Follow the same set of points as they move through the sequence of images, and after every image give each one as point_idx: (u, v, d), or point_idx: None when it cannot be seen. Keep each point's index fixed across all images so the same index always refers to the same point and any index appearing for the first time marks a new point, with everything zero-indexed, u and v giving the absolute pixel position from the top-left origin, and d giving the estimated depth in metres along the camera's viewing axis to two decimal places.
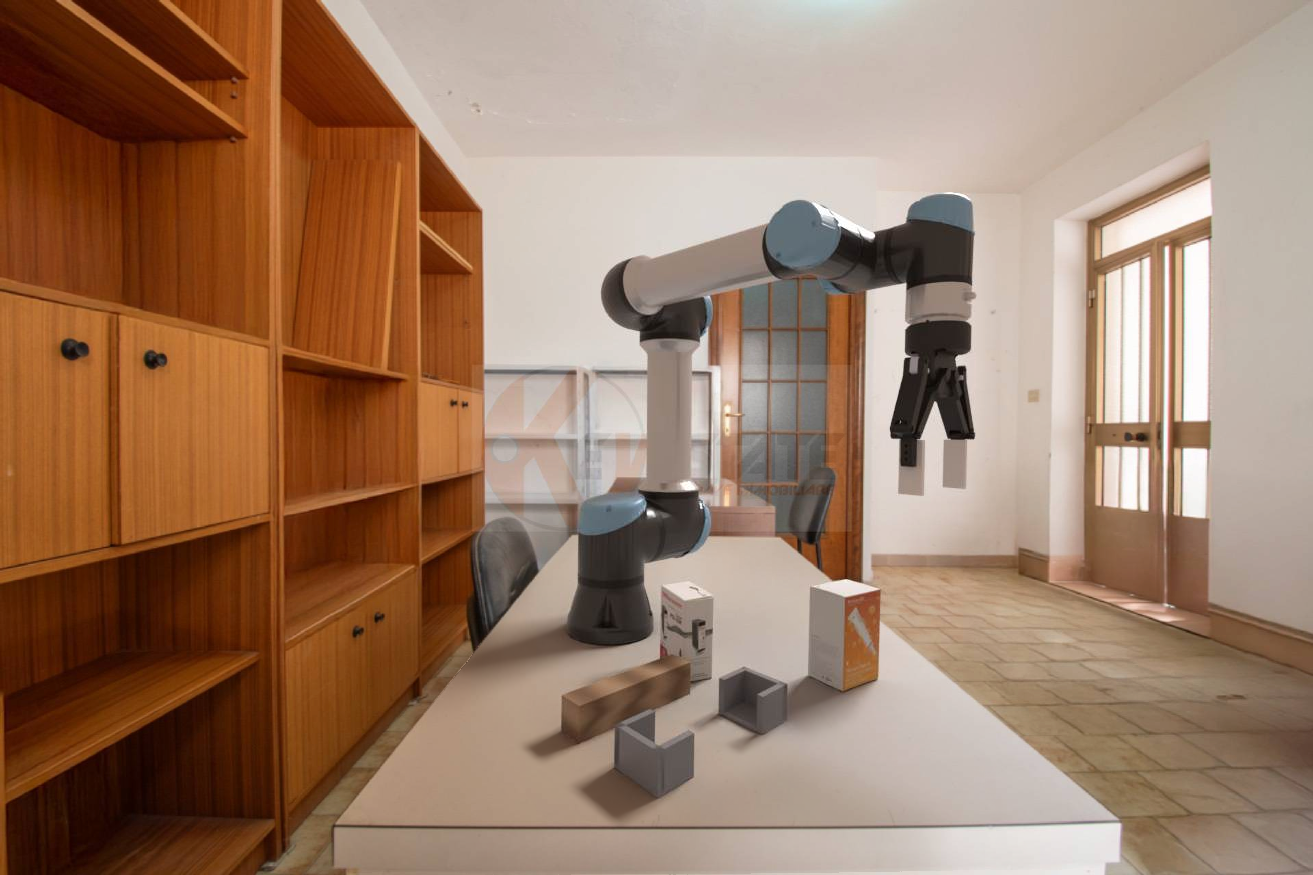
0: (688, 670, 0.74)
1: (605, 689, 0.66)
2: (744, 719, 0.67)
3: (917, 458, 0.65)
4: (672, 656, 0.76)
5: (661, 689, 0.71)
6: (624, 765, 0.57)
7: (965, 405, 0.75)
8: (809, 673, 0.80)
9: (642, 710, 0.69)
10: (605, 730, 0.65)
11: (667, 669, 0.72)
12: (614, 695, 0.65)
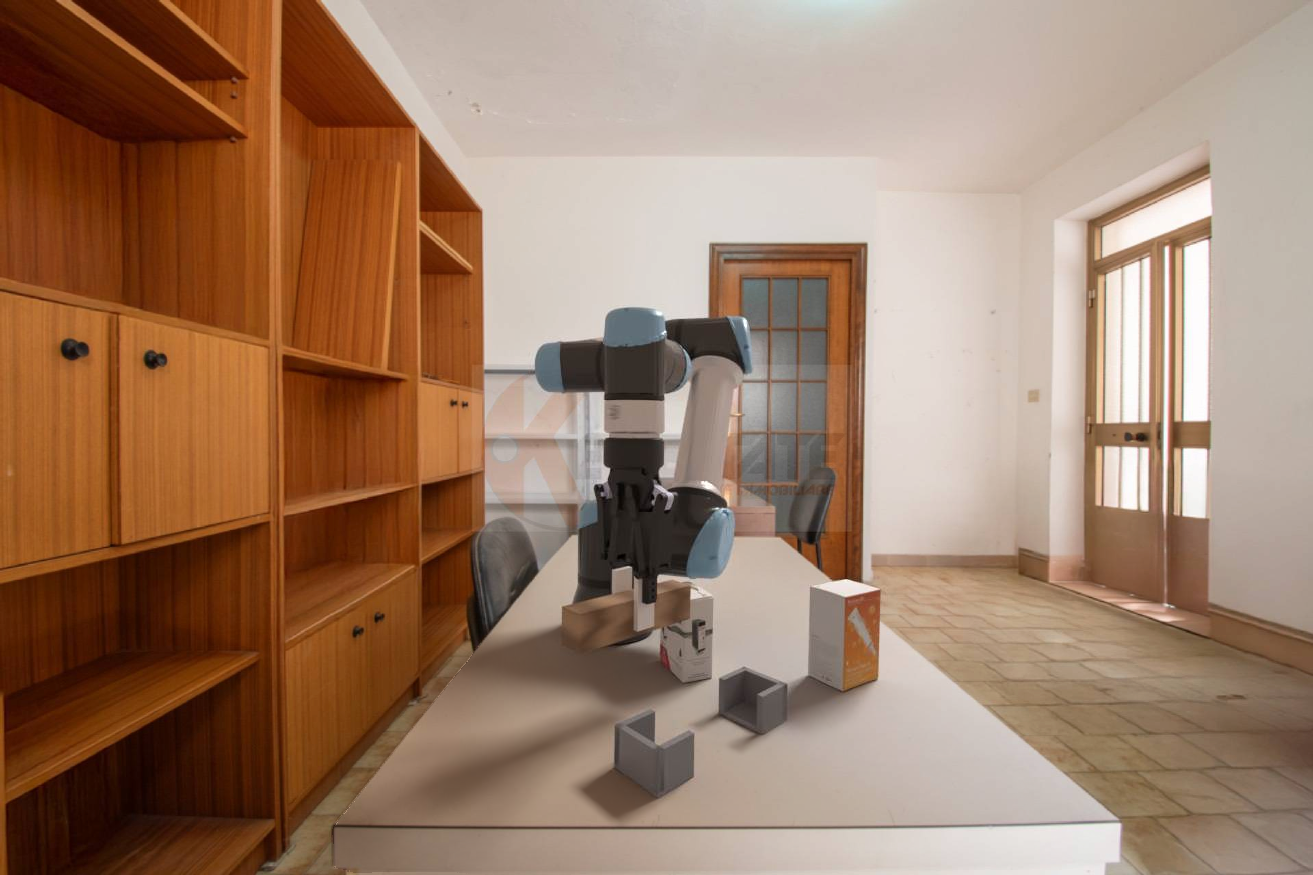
0: (688, 593, 0.74)
1: (606, 603, 0.66)
2: (744, 719, 0.67)
3: None
4: (672, 581, 0.76)
5: (661, 608, 0.71)
6: (624, 765, 0.57)
7: None
8: (809, 673, 0.80)
9: None
10: (605, 642, 0.65)
11: (667, 590, 0.72)
12: (614, 608, 0.65)
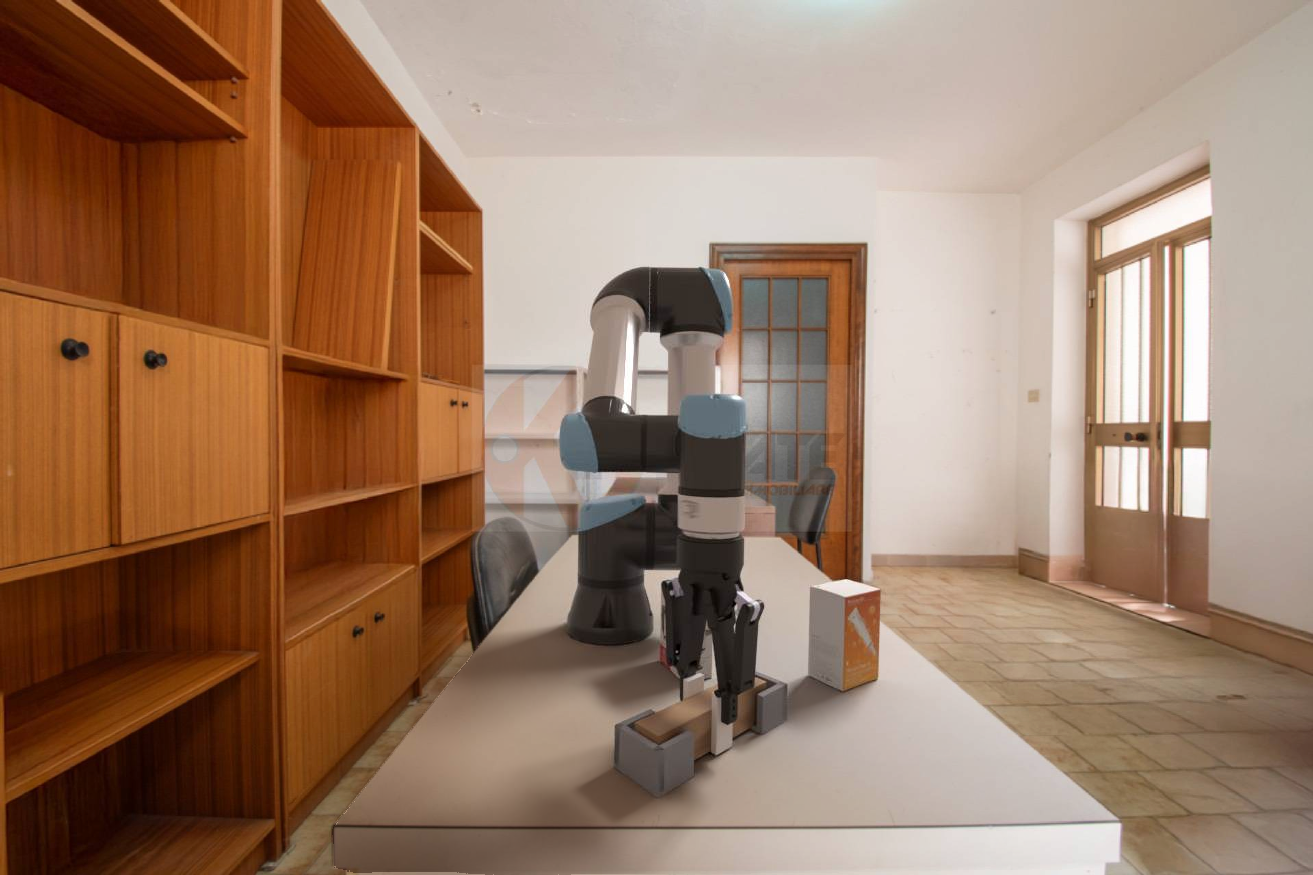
0: None
1: (682, 715, 0.59)
2: None
3: None
4: None
5: (738, 713, 0.64)
6: (624, 765, 0.57)
7: (734, 649, 0.59)
8: (809, 673, 0.80)
9: None
10: None
11: None
12: (692, 722, 0.58)
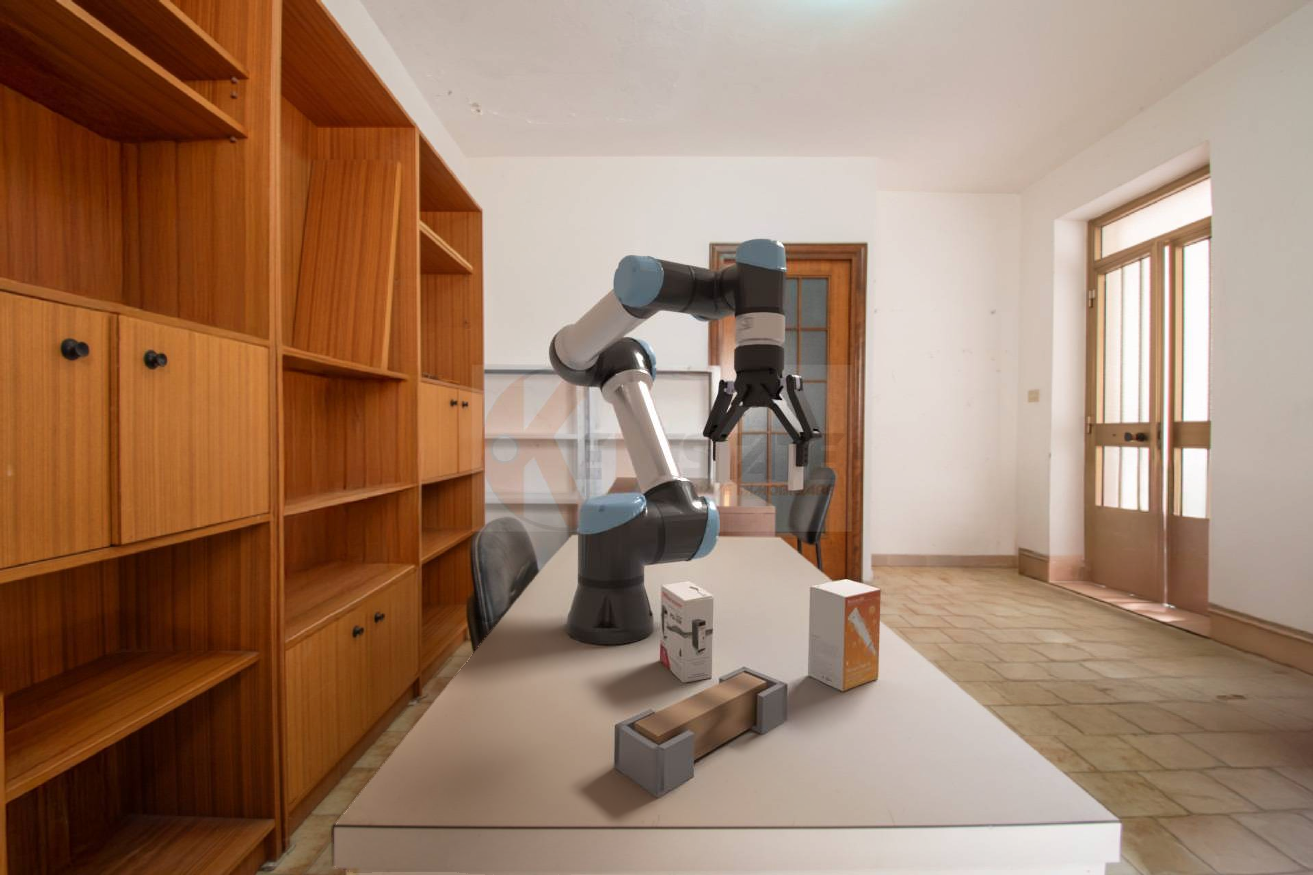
0: None
1: (682, 715, 0.59)
2: None
3: None
4: (744, 675, 0.69)
5: (738, 713, 0.64)
6: (624, 765, 0.57)
7: (795, 411, 0.79)
8: (809, 673, 0.80)
9: (720, 737, 0.61)
10: None
11: (743, 691, 0.65)
12: (692, 722, 0.58)
